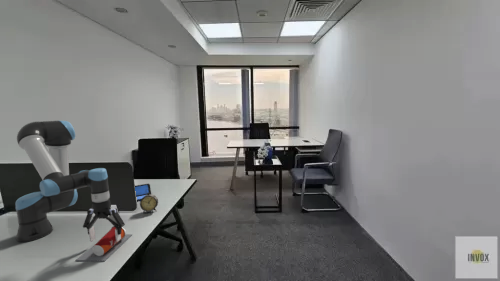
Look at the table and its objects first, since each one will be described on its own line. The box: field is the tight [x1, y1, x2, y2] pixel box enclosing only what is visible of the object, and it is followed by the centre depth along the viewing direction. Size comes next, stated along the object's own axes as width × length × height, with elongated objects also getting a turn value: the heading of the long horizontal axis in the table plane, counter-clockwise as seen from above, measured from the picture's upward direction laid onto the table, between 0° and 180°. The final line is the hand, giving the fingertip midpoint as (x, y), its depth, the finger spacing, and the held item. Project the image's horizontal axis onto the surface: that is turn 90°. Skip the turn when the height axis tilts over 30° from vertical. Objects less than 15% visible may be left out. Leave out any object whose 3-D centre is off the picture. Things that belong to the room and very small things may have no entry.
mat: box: [75, 233, 133, 262], centre depth 115 cm, size 14×22×1 cm, turn 177°
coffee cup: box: [92, 225, 127, 256], centre depth 113 cm, size 8×8×15 cm
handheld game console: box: [134, 183, 152, 202], centre depth 181 cm, size 16×13×9 cm
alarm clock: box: [139, 189, 159, 213], centre depth 154 cm, size 11×5×16 cm, turn 98°
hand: (105, 240), depth 114 cm, fingers open, 13 cm apart
